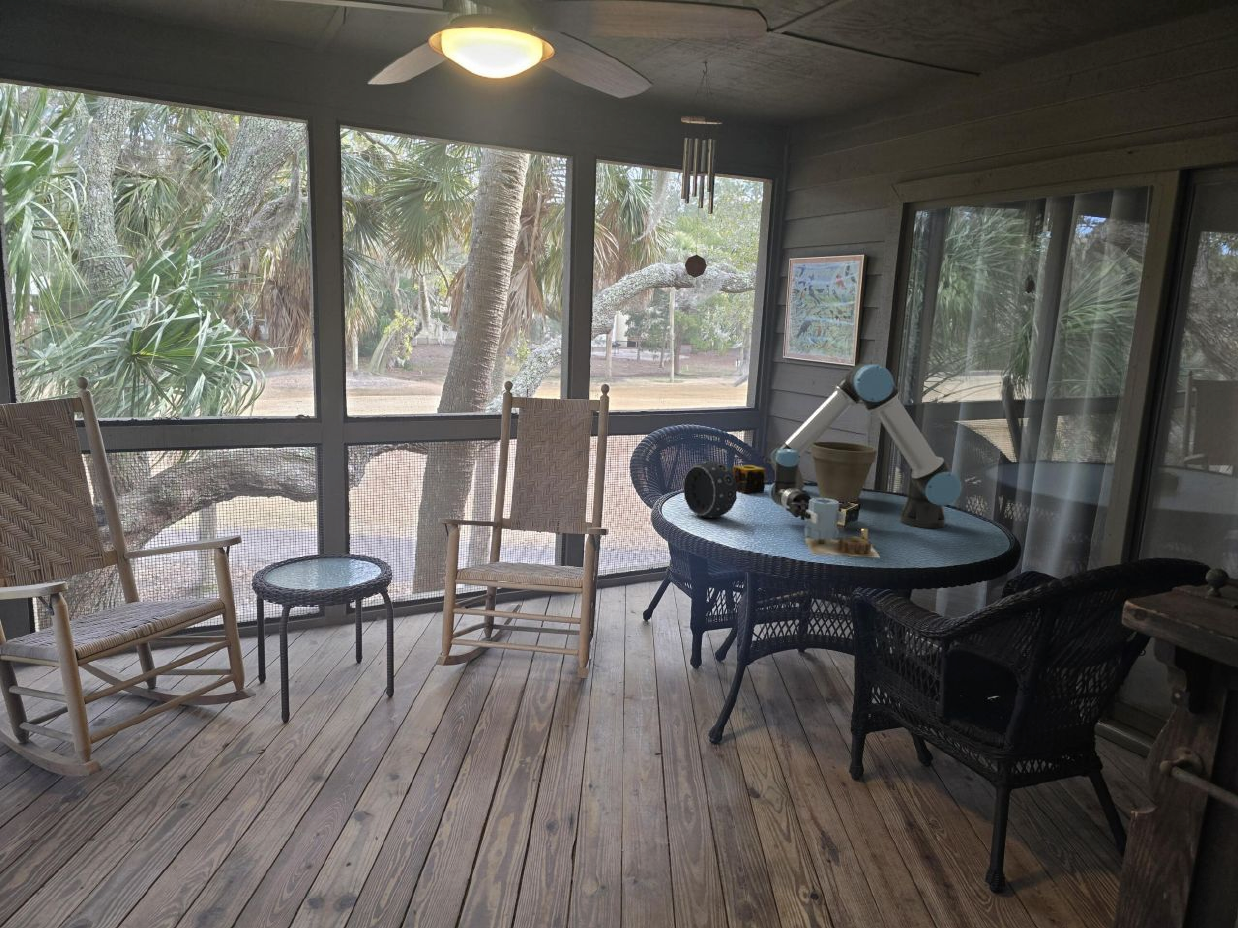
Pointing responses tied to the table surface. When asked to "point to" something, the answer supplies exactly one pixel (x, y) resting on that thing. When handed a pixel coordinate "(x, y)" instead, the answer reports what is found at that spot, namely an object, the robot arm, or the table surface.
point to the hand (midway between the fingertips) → (830, 518)
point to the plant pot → (841, 469)
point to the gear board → (832, 548)
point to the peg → (821, 541)
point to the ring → (710, 489)
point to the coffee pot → (800, 481)
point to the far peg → (864, 533)
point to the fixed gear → (854, 545)
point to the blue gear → (823, 519)
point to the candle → (749, 479)
